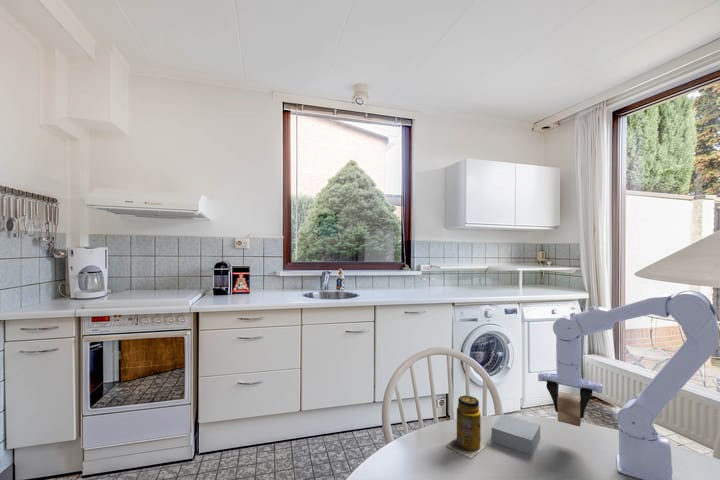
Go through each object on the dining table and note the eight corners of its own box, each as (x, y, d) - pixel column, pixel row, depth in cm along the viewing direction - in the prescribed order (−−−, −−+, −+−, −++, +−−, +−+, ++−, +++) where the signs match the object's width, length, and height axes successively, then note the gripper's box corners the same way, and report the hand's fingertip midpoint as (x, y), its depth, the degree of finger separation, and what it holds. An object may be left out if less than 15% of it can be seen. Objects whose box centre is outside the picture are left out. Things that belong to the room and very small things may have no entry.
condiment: (487, 445, 90) (486, 399, 90) (471, 459, 84) (471, 409, 84) (462, 434, 95) (461, 391, 95) (445, 446, 89) (445, 400, 89)
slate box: (540, 439, 93) (540, 424, 94) (532, 456, 86) (532, 440, 86) (502, 427, 100) (502, 413, 100) (491, 442, 92) (491, 427, 92)
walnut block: (581, 419, 91) (580, 396, 91) (580, 426, 87) (579, 403, 87) (559, 413, 94) (559, 391, 94) (557, 421, 90) (557, 398, 90)
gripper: (602, 363, 90) (602, 415, 90) (540, 353, 98) (541, 401, 98) (601, 371, 84) (602, 426, 84) (536, 359, 93) (537, 410, 92)
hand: (569, 413), depth 91 cm, fingers closed on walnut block, 5 cm apart
